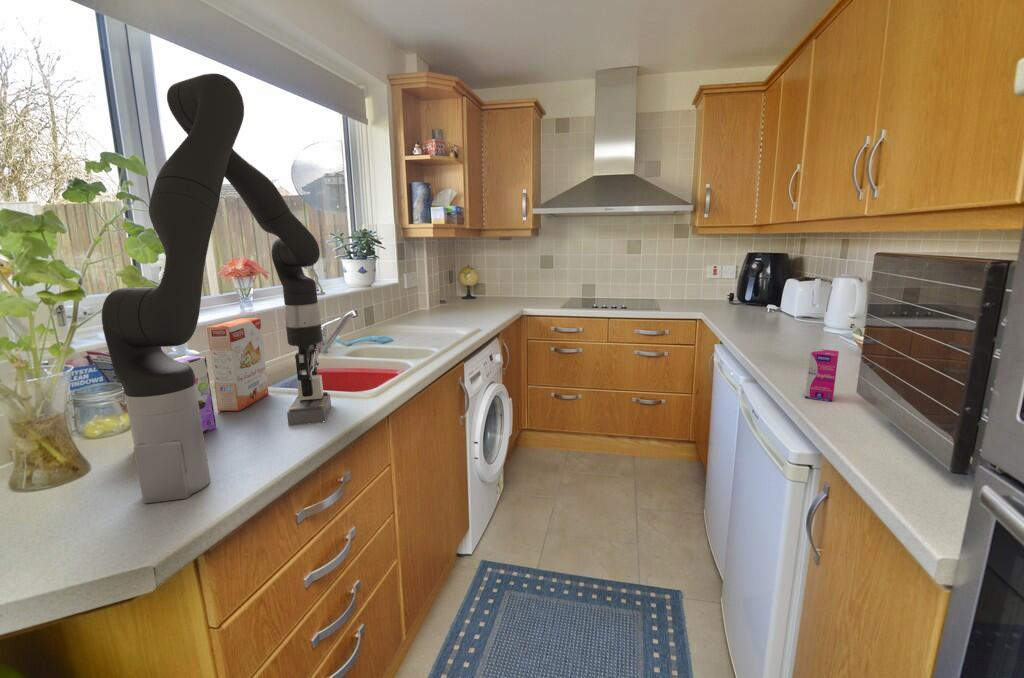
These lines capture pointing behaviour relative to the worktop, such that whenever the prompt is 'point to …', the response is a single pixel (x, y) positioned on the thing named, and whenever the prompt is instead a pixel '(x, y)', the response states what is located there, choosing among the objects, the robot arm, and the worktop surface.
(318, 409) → the fader console
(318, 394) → the fader tab
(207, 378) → the candy box
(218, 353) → the cracker box
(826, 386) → the supplement box
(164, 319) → the robot arm
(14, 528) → the worktop surface
